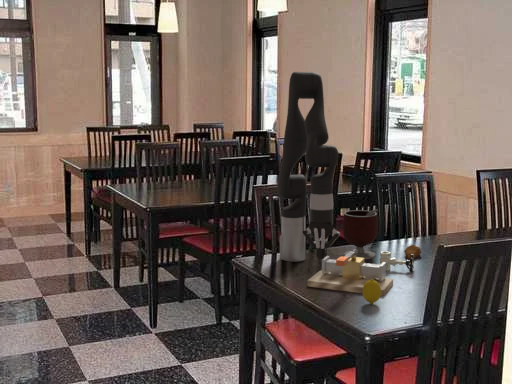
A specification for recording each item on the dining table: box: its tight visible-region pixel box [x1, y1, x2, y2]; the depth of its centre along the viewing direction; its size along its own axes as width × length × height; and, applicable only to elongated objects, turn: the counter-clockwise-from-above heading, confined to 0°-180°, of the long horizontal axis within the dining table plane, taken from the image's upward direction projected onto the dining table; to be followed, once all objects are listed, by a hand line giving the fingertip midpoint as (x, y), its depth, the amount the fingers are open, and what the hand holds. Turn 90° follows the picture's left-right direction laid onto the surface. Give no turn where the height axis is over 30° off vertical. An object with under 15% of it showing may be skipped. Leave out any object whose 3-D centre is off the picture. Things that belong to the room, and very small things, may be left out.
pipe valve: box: [321, 254, 387, 281], centre depth 215 cm, size 21×6×8 cm, turn 65°
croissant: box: [404, 244, 422, 260], centre depth 248 cm, size 14×7×5 cm, turn 156°
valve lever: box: [335, 248, 358, 266], centre depth 208 cm, size 17×3×2 cm, turn 155°
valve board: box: [307, 269, 394, 297], centre depth 212 cm, size 26×13×2 cm, turn 65°
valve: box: [379, 250, 415, 273], centre depth 229 cm, size 7×7×12 cm
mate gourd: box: [341, 208, 379, 260], centre depth 248 cm, size 16×14×20 cm
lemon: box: [362, 279, 381, 305], centre depth 194 cm, size 6×6×8 cm
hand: (321, 258), depth 206 cm, fingers closed
